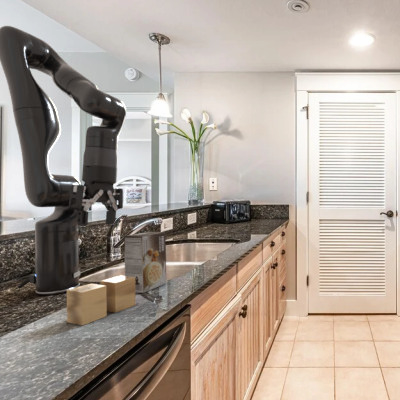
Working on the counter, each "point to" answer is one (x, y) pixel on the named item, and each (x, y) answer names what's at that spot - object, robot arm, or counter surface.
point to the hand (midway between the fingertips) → (97, 224)
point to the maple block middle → (119, 293)
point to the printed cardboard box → (146, 260)
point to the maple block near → (86, 304)
